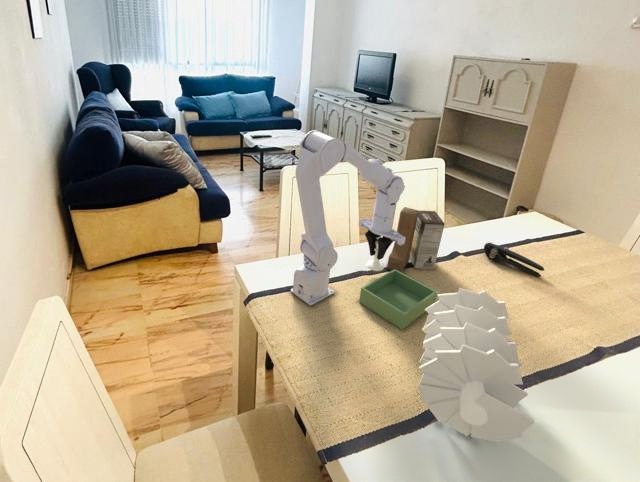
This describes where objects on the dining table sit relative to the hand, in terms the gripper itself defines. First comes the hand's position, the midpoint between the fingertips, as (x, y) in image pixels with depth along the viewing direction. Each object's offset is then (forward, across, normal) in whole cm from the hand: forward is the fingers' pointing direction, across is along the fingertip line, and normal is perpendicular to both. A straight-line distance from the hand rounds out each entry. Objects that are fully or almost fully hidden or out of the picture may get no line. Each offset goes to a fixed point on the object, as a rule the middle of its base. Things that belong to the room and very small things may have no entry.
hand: (376, 256), depth 112 cm
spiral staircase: (+7, -36, +20) cm, 42 cm away
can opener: (+7, -23, -41) cm, 48 cm away
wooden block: (+7, -1, -11) cm, 13 cm away
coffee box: (+7, -4, -19) cm, 21 cm away
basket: (+6, -12, +6) cm, 15 cm away
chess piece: (+4, 0, 0) cm, 4 cm away
